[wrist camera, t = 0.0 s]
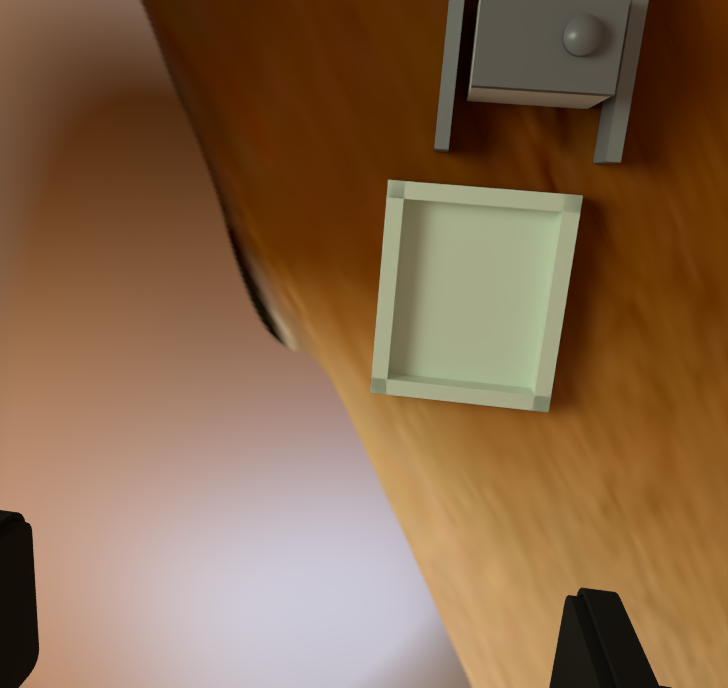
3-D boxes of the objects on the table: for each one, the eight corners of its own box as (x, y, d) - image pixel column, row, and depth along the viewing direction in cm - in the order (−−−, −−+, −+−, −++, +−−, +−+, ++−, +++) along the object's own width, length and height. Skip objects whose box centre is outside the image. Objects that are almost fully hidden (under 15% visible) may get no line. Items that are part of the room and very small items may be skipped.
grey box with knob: (476, 8, 36) (485, -29, 30) (601, 15, 36) (636, -22, 29) (466, 101, 38) (472, 83, 31) (587, 109, 37) (617, 92, 31)
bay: (458, -88, 35) (460, -113, 32) (647, -81, 34) (666, -105, 31) (434, 151, 38) (434, 148, 36) (606, 164, 37) (620, 162, 35)
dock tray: (390, 180, 39) (388, 179, 37) (575, 195, 38) (582, 195, 36) (373, 383, 42) (370, 392, 40) (543, 401, 41) (548, 412, 39)
